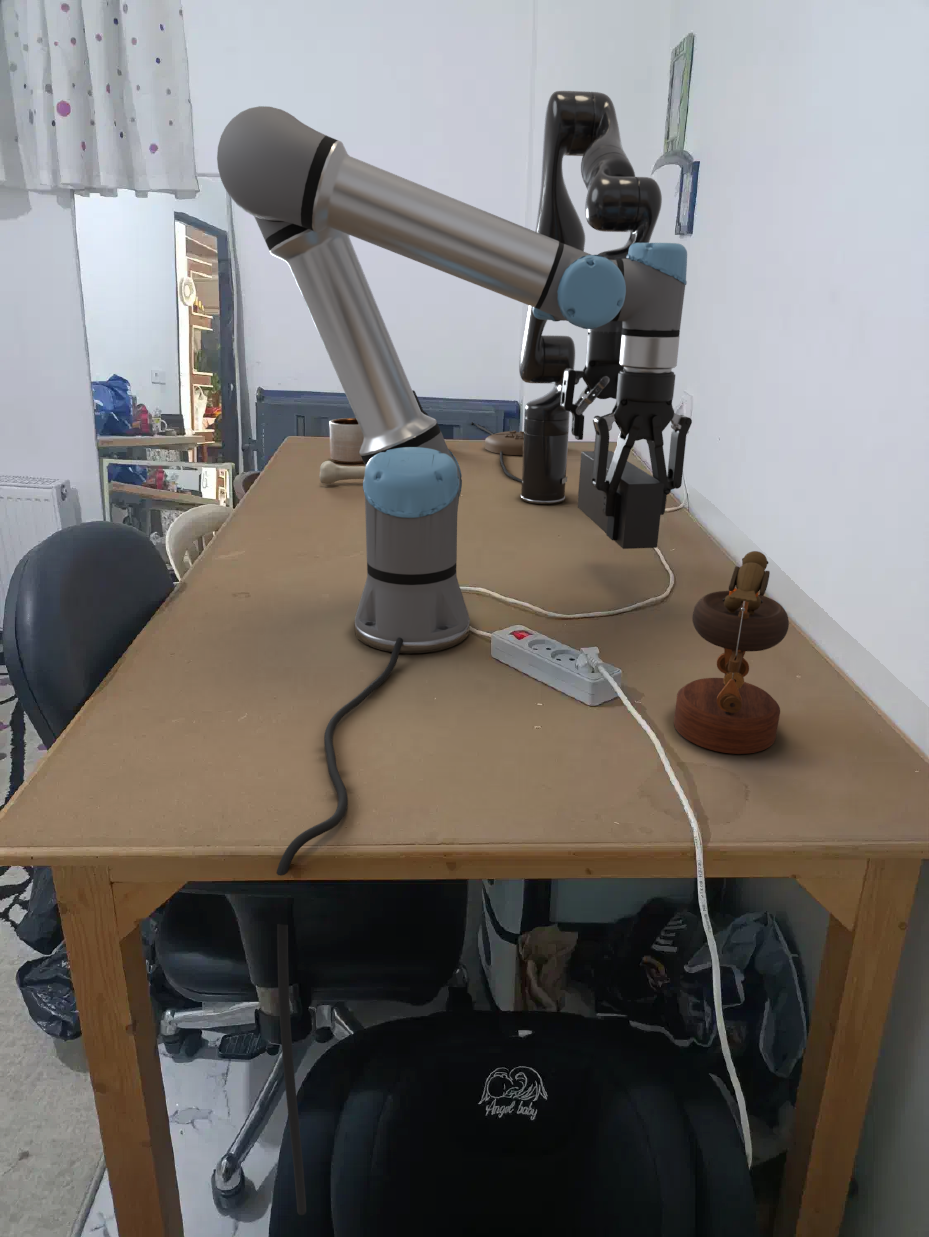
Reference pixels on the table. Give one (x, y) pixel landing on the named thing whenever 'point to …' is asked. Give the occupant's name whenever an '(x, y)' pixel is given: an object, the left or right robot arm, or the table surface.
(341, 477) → the dog toy
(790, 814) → the table surface
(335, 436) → the planter
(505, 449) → the brown flat rounded piece
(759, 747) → the music box
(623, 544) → the bar
